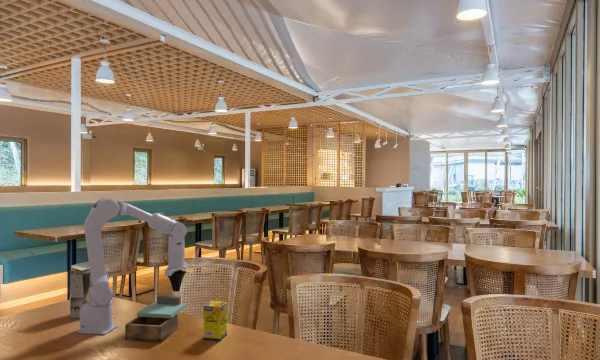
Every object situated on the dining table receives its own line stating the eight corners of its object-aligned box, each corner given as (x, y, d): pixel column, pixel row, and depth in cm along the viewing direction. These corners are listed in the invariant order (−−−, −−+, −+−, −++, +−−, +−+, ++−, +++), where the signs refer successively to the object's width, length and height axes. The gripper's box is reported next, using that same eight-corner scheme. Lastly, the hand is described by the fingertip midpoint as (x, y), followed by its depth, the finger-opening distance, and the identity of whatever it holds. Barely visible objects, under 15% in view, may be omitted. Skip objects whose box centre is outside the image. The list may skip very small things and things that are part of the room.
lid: (136, 316, 139) (136, 305, 139) (154, 305, 151) (154, 295, 151) (171, 318, 137) (171, 307, 137) (186, 307, 149) (186, 296, 149)
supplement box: (220, 341, 132) (220, 306, 131) (202, 340, 133) (203, 305, 133) (227, 334, 137) (227, 301, 137) (210, 333, 139) (210, 300, 139)
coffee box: (85, 318, 151) (85, 274, 151) (69, 317, 153) (69, 273, 152) (101, 310, 160) (102, 269, 160) (87, 309, 162) (87, 268, 161)
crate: (125, 340, 132) (125, 324, 132) (144, 326, 144) (144, 312, 144) (161, 342, 130) (161, 326, 130) (177, 328, 142) (177, 314, 142)
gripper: (178, 258, 147) (178, 297, 147) (194, 251, 161) (194, 286, 161) (159, 257, 148) (159, 296, 148) (177, 250, 162) (176, 285, 162)
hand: (176, 291), depth 155 cm, fingers closed
